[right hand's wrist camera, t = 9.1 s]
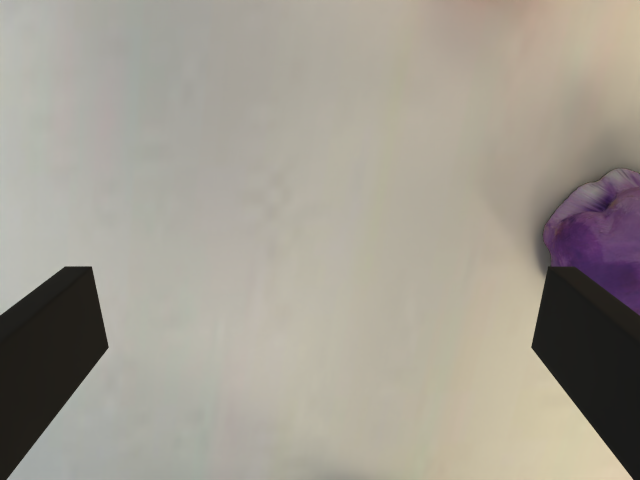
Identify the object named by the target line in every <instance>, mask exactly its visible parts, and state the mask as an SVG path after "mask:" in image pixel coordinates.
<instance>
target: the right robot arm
mask: <svg viewBox="0 0 640 480" xmlns="http://www.w3.org/2000/svg"><path fill="white" fill-rule="evenodd" d="M108 348H109V347H108V342H107V337H106V332H105V328H104V323H103V318H102V313H101V308H100V304H99V299H98V294H97V289H96V285H95V280H94V275H93V270H92V267H64V268H63V269H61V270H60V271H59V272H57V273H56V274H55V275H53V276H52V277H51V278H49V279H48V280H47V281H45V282H44V283H43V284H41V285H40V286H39V287H37V288H36V289H35V290H33V291H32V292H31V293H29V294H28V295H27V296H25V297H24V298H23V299H21V300H20V301H19V302H18V303H16V304H15V305H14V306H12V307H11V308H10V309H8V310H7V311H6V312H4V313H3V314H2V315H0V480H7V478H8V477H9V476H10V474H11V473H12V472H13V471H14V469H15V468H16V467H17V465H18V464H19V463H20V461H21V460H22V459H23V458H24V456H25V455H26V454H27V452H28V451H29V450H30V449H31V447H32V446H33V445H34V443H35V442H36V441H37V440H38V438H39V437H40V436H41V434H42V433H43V432H44V430H45V429H46V428H47V427H48V425H49V424H50V423H51V421H52V420H53V419H54V418H55V416H56V415H57V414H58V412H59V411H60V410H61V408H62V407H63V406H64V405H65V403H66V402H67V401H68V399H69V398H70V397H71V396H72V394H73V393H74V392H75V390H76V389H77V388H78V386H79V385H80V384H81V383H82V381H83V380H84V379H85V377H86V376H87V375H88V374H89V372H90V371H91V370H92V368H93V367H94V366H95V364H96V363H97V362H98V361H99V359H100V358H101V357H102V355H103V354H104V353H105V352H106V350H107V349H108ZM531 348H532V349H533V350H534V352H535V353H536V354H537V355H538V357H539V358H540V359H541V361H542V362H543V363H544V364H545V366H546V367H547V368H548V370H549V371H550V372H551V374H552V375H553V376H554V377H555V379H556V380H557V381H558V383H559V384H560V385H561V386H562V388H563V389H564V390H565V392H566V393H567V394H568V396H569V397H570V398H571V399H572V401H573V402H574V403H575V405H576V406H577V407H578V408H579V410H580V411H581V412H582V414H583V415H584V416H585V418H586V419H587V420H588V421H589V423H590V424H591V425H592V427H593V428H594V429H595V430H596V432H597V433H598V434H599V436H600V437H601V438H602V440H603V441H604V442H605V443H606V445H607V446H608V447H609V449H610V450H611V451H612V452H613V454H614V455H615V456H616V458H617V459H618V460H619V462H620V463H621V464H622V465H623V467H624V468H625V469H626V471H627V472H628V473H629V474H630V476H631V477H632V478H633V480H640V315H638V314H637V313H636V312H634V311H633V310H632V309H630V308H629V307H628V306H626V305H625V304H624V303H622V302H621V301H620V300H619V299H617V298H616V297H615V296H613V295H612V294H611V293H609V292H608V291H607V290H605V289H604V288H603V287H601V286H600V285H599V284H597V283H596V282H595V281H593V280H592V279H591V278H589V277H588V276H587V275H585V274H584V273H583V272H581V271H580V270H579V269H577V268H576V267H548V270H547V275H546V280H545V284H544V289H543V294H542V299H541V304H540V308H539V313H538V318H537V323H536V328H535V332H534V337H533V342H532V347H531Z"/></svg>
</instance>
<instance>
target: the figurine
mask: <svg viewBox="0 0 640 480" xmlns="http://www.w3.org/2000/svg"><path fill="white" fill-rule="evenodd" d="M543 240H544V243H545V245H546V246H547V248H548V249H549V251H550V254H551V267H576V268H577V269H579V270H580V271H581V272H583V273H584V274H585V275H587V276H588V277H589V278H591V279H592V280H593V281H595V282H596V283H597V284H599V285H600V286H601V287H603V288H604V289H605V290H607V291H608V292H609V293H611V294H612V295H613V296H615V297H616V298H617V299H619V300H620V301H621V302H622V303H624V304H625V305H626V306H628V307H629V308H630V309H632V310H633V311H634V312H636V313H637V314H638V315H640V174H638V173H637V172H636V173H635V171H632V170H628V169H625V168H617V169H614V170H612V171H609V172H608V174H606V175H605V176H603V177H602V178H601V179H600V180H599V181H597V182H589V183H586V184H584V185H582V186H580V187H578V188H577V190H575V191H574V192H573V193H572V194H571V195H570V196H569V197H568V198H567V199H566V200H564V202H563V203H562V204H561V205H560V206H559V207H558V208H557V210H556V211H555V212H554V214H553V215H552V216H551V218H550V219H549V220H548V221H547V223H546V225H545V227H544V232H543Z"/></svg>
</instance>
